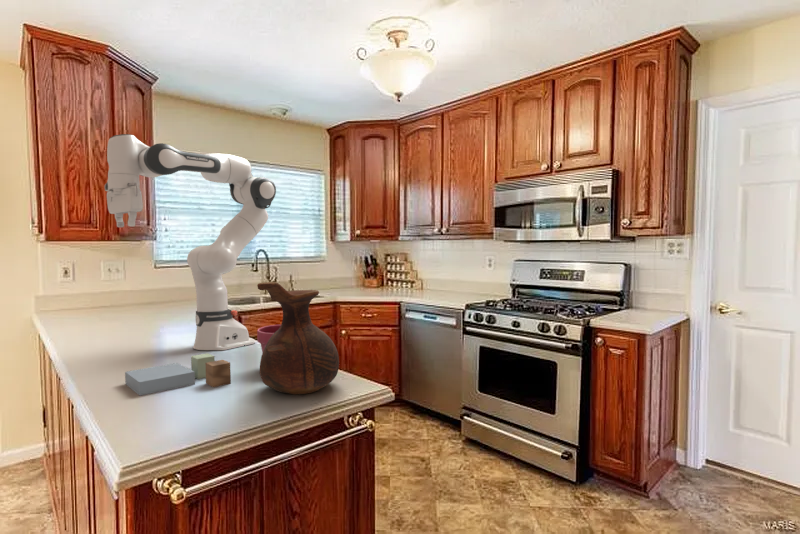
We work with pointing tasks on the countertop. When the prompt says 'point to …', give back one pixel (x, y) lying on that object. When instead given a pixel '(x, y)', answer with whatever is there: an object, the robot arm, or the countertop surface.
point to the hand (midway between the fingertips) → (125, 226)
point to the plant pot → (266, 334)
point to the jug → (297, 346)
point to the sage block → (200, 364)
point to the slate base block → (159, 378)
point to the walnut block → (218, 373)
